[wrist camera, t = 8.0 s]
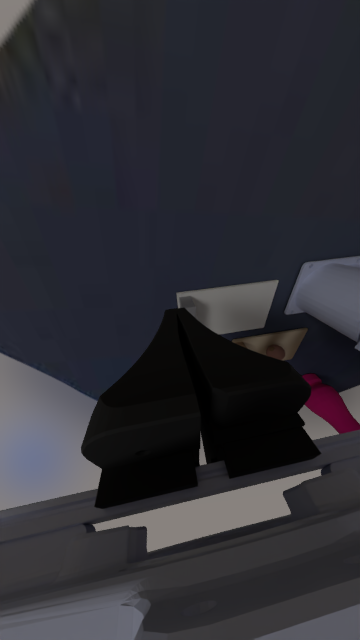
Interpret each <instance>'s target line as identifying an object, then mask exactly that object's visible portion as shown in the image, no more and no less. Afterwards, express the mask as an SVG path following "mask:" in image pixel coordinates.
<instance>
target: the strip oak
mask: <svg viewBox="0 0 360 640" xmlns="http://www.w3.org/2000/svg"><path fill="white" fill-rule="evenodd" d="M307 330H308V329H307V328H301V329H295V330H289V331H282V332H276V333H270V334H264V335H257V336H251V337H245V338H238V339H232V342H233V343H236V344H238V345H240V346H242V347H245V348H247V349H250V350H252V351H255V352H258V353H260V354H263V355H266V350H267V348H268V347H269V346H271V345H278V346H281V347H282V348H283V349H284V350H285V357H284V358H283V359H282V361H283V360H289V359H292V358H293V356H294V354H295V352H296V350H297V349H298V347H299V345H300V343H301V341H302V339H303V337H304V336H305V334H306V332H307ZM266 356H267V355H266Z"/></svg>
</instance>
